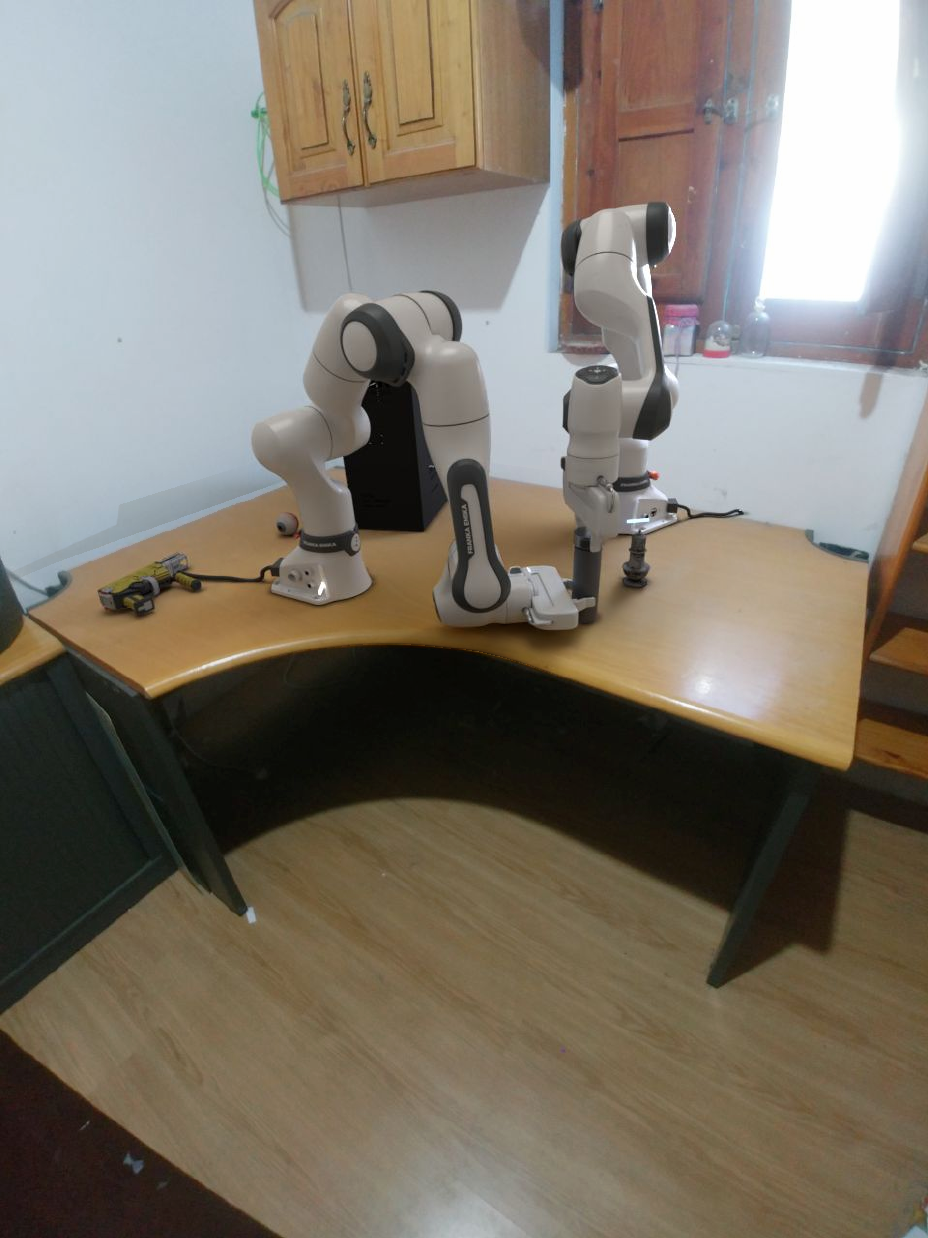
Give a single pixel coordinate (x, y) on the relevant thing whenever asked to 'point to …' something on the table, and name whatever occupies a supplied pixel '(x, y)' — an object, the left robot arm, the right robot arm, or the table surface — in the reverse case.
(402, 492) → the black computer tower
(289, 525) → the eyeball
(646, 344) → the right robot arm
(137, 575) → the toy gun
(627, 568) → the dark grey chess piece
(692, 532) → the table surface
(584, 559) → the grey tall cylinder
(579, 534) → the lid
